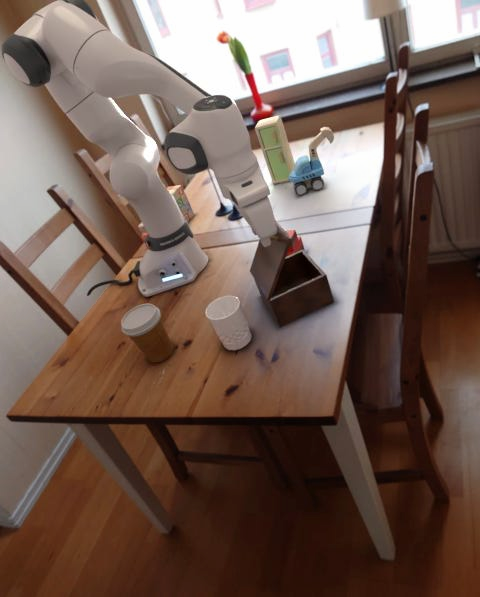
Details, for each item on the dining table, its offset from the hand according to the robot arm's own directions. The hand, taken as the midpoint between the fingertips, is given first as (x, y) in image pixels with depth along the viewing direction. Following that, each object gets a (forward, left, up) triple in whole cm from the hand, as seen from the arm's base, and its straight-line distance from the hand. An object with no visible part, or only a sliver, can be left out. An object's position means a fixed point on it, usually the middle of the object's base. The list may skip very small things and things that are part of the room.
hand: (262, 238), depth 101 cm
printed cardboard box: (-19, +66, -19) cm, 71 cm away
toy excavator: (+31, +52, -19) cm, 63 cm away
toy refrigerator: (+25, +68, -19) cm, 75 cm away
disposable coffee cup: (-32, +4, -19) cm, 37 cm away
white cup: (-14, -4, -19) cm, 24 cm away
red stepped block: (+8, +17, -19) cm, 26 cm away
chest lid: (0, 0, -5) cm, 5 cm away
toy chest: (+3, 0, -19) cm, 19 cm away
